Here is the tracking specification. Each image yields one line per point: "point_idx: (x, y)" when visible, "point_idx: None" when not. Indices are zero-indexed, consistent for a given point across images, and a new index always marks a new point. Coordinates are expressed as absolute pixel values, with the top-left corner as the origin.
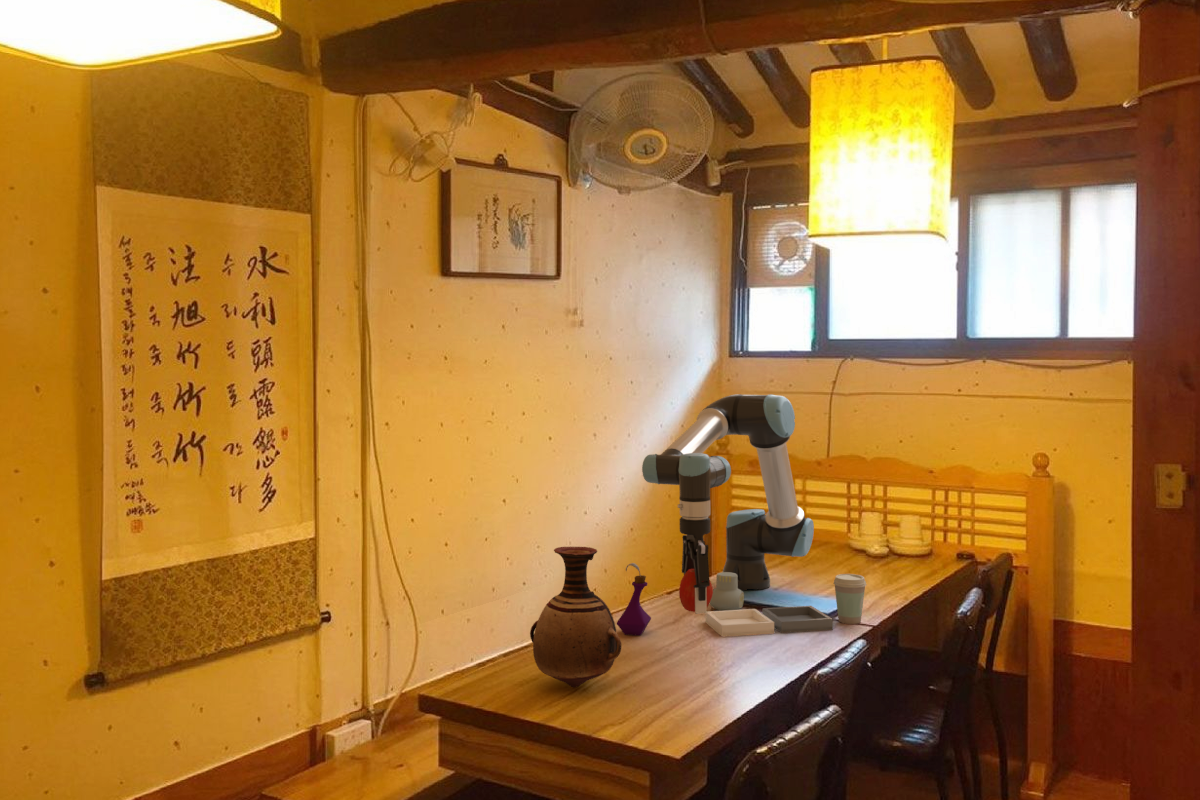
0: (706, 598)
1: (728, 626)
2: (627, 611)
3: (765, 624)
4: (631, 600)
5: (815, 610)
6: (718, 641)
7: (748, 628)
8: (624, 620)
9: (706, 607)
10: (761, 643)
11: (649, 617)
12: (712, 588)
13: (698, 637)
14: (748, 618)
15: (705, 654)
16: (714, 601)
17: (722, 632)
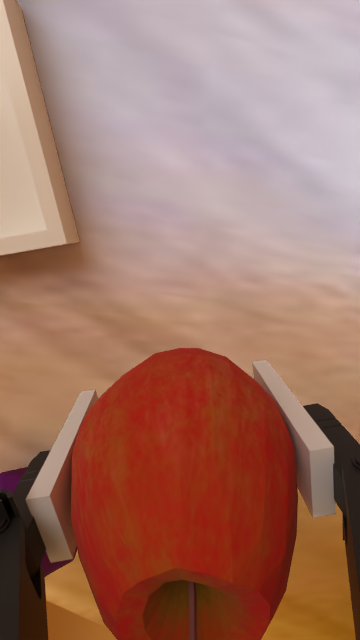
0: (294, 397)
1: (62, 216)
2: (48, 570)
3: (13, 29)
4: None
5: None
6: (136, 262)
7: (43, 126)
8: None
9: (276, 372)
10: (163, 103)
11: (12, 483)
12: (218, 371)
13: (90, 321)
14: None
15: (272, 322)
16: None
17: (74, 240)
